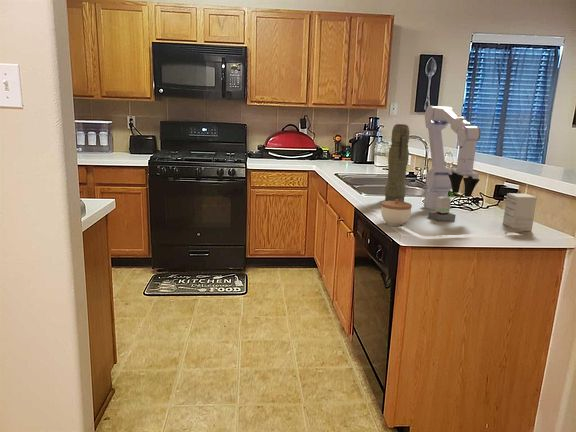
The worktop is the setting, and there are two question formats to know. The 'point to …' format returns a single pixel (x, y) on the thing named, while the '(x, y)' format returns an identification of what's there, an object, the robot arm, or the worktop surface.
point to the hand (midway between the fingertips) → (461, 194)
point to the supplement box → (519, 211)
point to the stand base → (441, 216)
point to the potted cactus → (397, 163)
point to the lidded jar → (395, 212)
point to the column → (442, 205)
